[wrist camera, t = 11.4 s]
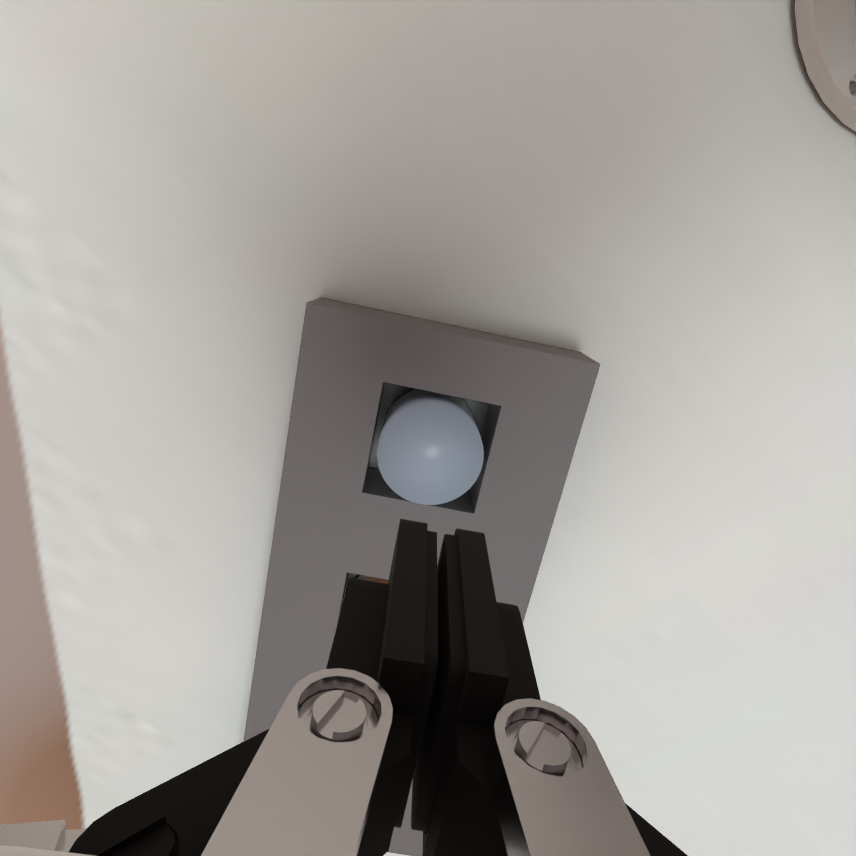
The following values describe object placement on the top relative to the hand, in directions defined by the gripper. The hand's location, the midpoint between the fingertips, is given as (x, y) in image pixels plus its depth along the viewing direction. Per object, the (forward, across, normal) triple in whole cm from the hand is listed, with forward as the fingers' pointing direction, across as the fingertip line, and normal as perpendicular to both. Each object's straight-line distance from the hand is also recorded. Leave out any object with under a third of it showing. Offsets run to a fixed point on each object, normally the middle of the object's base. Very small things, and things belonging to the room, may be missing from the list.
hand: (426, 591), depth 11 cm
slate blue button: (+15, 0, +2) cm, 15 cm away
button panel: (+16, 0, +11) cm, 19 cm away
